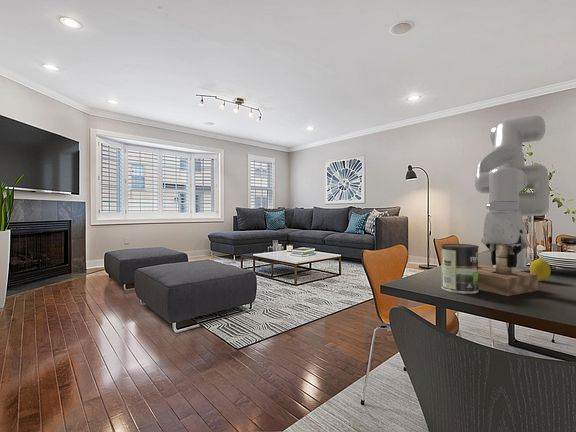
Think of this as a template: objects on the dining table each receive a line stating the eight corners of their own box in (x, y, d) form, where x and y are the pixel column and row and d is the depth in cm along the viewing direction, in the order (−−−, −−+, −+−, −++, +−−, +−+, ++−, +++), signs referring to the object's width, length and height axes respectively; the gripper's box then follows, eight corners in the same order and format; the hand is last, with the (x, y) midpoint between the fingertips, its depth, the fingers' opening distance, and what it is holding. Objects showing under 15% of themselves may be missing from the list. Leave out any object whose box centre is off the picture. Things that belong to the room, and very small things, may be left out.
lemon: (554, 283, 101) (554, 259, 101) (535, 282, 102) (535, 259, 102) (544, 279, 106) (544, 257, 106) (526, 279, 107) (526, 256, 107)
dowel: (501, 270, 97) (501, 240, 97) (514, 273, 94) (514, 241, 93) (492, 271, 96) (492, 240, 96) (506, 274, 92) (506, 241, 92)
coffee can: (482, 289, 95) (482, 244, 95) (474, 296, 88) (473, 247, 88) (446, 284, 102) (446, 242, 102) (436, 290, 95) (436, 245, 95)
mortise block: (470, 276, 113) (470, 260, 113) (537, 290, 92) (537, 271, 92) (443, 280, 108) (443, 263, 108) (507, 296, 87) (507, 275, 87)
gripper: (470, 208, 101) (470, 262, 101) (525, 207, 85) (525, 271, 86) (485, 208, 104) (485, 261, 104) (541, 207, 88) (541, 269, 88)
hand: (503, 265), depth 95 cm, fingers closed on dowel, 4 cm apart
